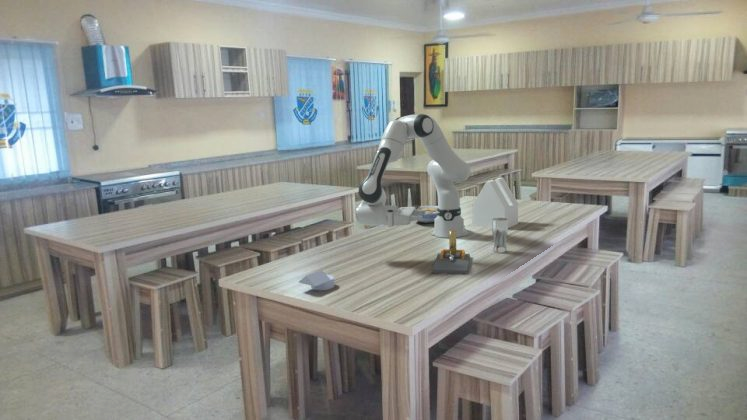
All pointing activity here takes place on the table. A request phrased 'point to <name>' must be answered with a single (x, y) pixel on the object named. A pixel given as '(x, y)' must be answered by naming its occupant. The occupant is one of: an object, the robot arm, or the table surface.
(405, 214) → the robot arm
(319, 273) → the wedge on round base
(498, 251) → the beer glass
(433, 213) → the ramen bowl
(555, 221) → the table surface
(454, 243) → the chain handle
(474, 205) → the milk carton
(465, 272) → the rail board
